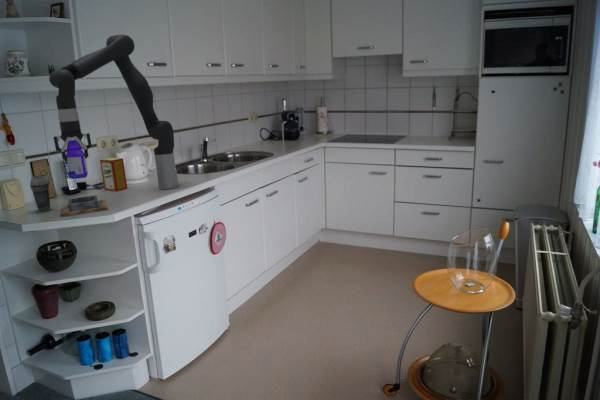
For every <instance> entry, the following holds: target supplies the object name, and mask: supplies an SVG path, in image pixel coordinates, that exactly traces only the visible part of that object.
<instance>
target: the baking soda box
mask: <svg viewBox="0 0 600 400" xmlns="http://www.w3.org/2000/svg"><path fill="white" fill-rule="evenodd" d="M99 162H100V164H99V165H100V169H101V176H102V181H103V187H104V188H103V189H104V191H109V192H120V191H123V190H128V184H127V177H126V169H125V163H124V158H123V157H108V158H103V159H99Z"/></svg>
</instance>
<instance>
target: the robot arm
mask: <svg viewBox="0 0 600 400" xmlns="http://www.w3.org/2000/svg"><path fill="white" fill-rule="evenodd" d="M134 41H135V40H134V39H132V37H131V36H129V35H127V34H115V35H111V36H109V37H107V39H106V43H105V44H106V46H104V47H103V48H101V49H98V50H96V51H93V52H90V53H87V54H85V55H84V56H82V57H80V58H77V59H76V60H74V61H72V62H71V63H70V64H67V65H64V66H61V67H60V68H57V69H55V70H54V71H52V72H51V73H50V74H49V76H48V78H49V83H50V85H51V86H53V87H54V88H57V89H58V94H57V95H56V96H55V102H56V103H55V104H56V107H57V117H58V119H57V120H58V123H59V128H60V133H61V134H60V135H57V136H56V135H54V136H53V142H54V147H55V150H56V152H60V153H61V157H62V160H64V162H67V159H66V153H67V152H66V151H65V150H66V149H67V145H68V142H69V141H70V137H74V138H75V140H76V141H77V142H78V143H79V144H80V145H81V148H83V152H84V154H85V159H88V157H89V151H88V150H89V149H90V148H92V147H93V146H92V140H91V134H90V132H87V133H83V132H82V128H81V124H80V117H79V113H78V109H77V105H76V104H77V103H76V100H75V99H76V98H75V97H76V80H79V79H82V78H85V77H87V76H88V75H90V74H92V73H93V72H95V71H97V70H99V69H101V68H102V67H104V66H105V65H108V64H109V63H111V62H114V64H115V65H116V67H117V68H118V70H119V72H120V74H121V76H122V79H123V80H124V82H125V84H126V87H127V88H128V91H129V93H130V95H131V97H132V99H133V101H134V103H135V105H136V107H137V108H138V111H139V113H140V115H141V117H142V120H143V122H144V125H145V129H146V132H147V133H148V135H149V136H150V138H151V139H154V140H156V141H158V143H157V146H156V147H154V149H153V152H154V153H153V154H154V155H153V156H154V161H155V169H156V175H157V185H158V189H159V190H170V189H171V190H172V189H175V188H180V186H179V179H178V171H177V167H176V162H175V153H174V149H175V136H174V128H173V125H172V124H171V123H170V121H167V120H159V117H158V116H157V113H156V112H155V109H154V94H153V90H152V87H151V86H150V84H149V82H148V80H147V79H146V78H145V76H144V74H142V73H141V71H140V70H138V68H136V66H135V65H134V64H133V62H132V59H131V58H130V55H132V54H133V52H134V51H135V42H134ZM83 137H84V138H85V139H86V140H87V145H86V144H85V143H84V142H83V141H82V139H83ZM60 139H61V140H62V141H63V142H64V143H63V145H62V146H61V147H60V145H59V142H60Z"/></svg>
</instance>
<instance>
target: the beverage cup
mask: <svg viewBox="0 0 600 400" xmlns="http://www.w3.org/2000/svg"><path fill="white" fill-rule="evenodd" d="M29 184H30V185H29V187H30V189H31V191H32V194H33V196H34V197H33V198H34V201H35V204H36V207H37V210H38V212H39V213H45V212H49V211H51V202H50V201H51V200H50V190H49V188H50V186H49V184H50V183H49V180H48V179H47V178H46V177H45V176H44V175H40V166H39V165H37V175H34V176H33V177H32V178H31V179H30V183H29Z"/></svg>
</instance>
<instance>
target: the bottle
mask: <svg viewBox="0 0 600 400" xmlns="http://www.w3.org/2000/svg"><path fill="white" fill-rule="evenodd" d="M66 149H67V151H66V152H65V153H66V159H67V161H66V165H67V170H68V176H69V177H70V179H74V180H75V179H85V178H87V177H88V174H89V173H88V166H87V160H86V159H87V158H86V159H85V153H84V150H83V149H82V146H81V145H80V144H79V143H78V142H77V141H76V140H75V138H74V137H70V141H69V142H68V144H67V146H66Z"/></svg>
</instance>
